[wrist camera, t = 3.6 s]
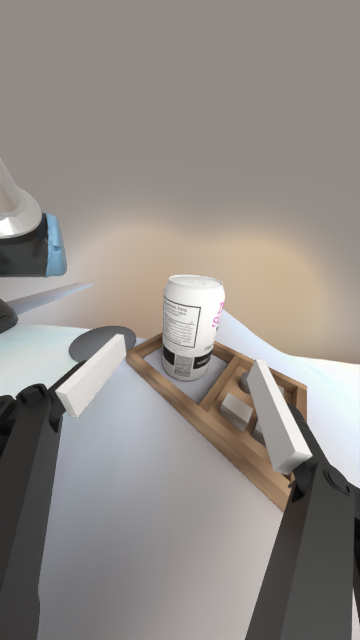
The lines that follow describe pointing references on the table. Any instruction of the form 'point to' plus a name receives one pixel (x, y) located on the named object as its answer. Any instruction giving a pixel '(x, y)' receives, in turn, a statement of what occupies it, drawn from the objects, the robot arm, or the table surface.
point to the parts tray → (229, 413)
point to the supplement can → (190, 324)
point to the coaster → (98, 341)
